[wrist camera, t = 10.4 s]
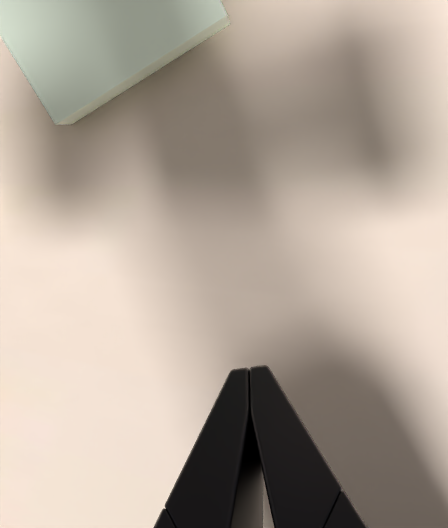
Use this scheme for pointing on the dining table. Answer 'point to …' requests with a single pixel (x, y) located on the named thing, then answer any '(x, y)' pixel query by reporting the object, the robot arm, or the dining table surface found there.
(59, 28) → the end tile
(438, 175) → the dining table surface
